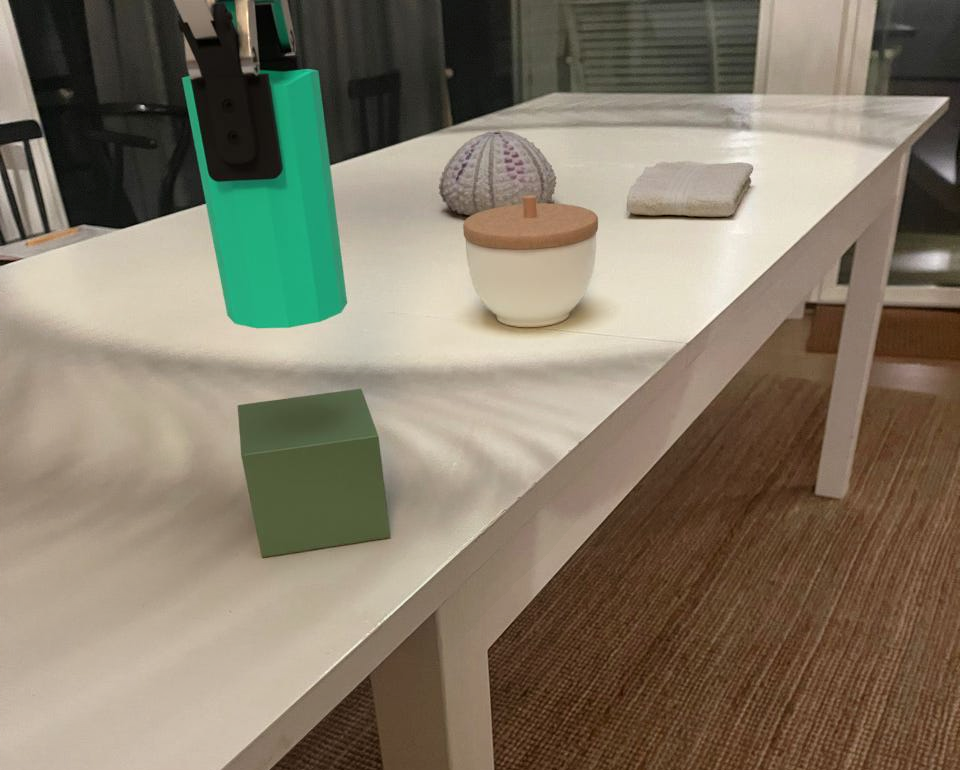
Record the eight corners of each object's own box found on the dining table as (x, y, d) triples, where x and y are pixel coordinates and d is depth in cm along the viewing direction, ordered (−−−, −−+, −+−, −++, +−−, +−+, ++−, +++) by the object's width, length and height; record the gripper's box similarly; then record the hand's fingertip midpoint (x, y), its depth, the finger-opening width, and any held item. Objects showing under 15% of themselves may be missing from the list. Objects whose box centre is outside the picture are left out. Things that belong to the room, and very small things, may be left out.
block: (261, 558, 55) (240, 455, 52) (256, 500, 61) (237, 404, 58) (390, 538, 56) (378, 435, 53) (373, 483, 62) (361, 387, 59)
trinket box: (443, 326, 86) (434, 206, 80) (512, 290, 93) (508, 178, 88) (555, 344, 81) (554, 217, 75) (619, 305, 88) (622, 187, 82)
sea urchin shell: (560, 218, 114) (560, 138, 110) (438, 225, 114) (432, 146, 110) (553, 192, 125) (552, 119, 120) (441, 199, 125) (436, 126, 121)
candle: (206, 311, 52) (150, 39, 46) (306, 284, 56) (268, 25, 49) (266, 337, 49) (215, 43, 42) (370, 307, 52) (339, 28, 45)
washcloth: (753, 184, 123) (755, 155, 121) (736, 221, 109) (739, 189, 107) (653, 183, 126) (654, 156, 124) (624, 219, 112) (625, 188, 110)
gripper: (149, -317, 45) (228, 136, 56) (-25, -423, 31) (124, 211, 41) (319, -331, 45) (367, 129, 55) (220, -445, 31) (310, 202, 41)
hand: (262, 159), depth 48 cm, fingers closed on candle, 5 cm apart
